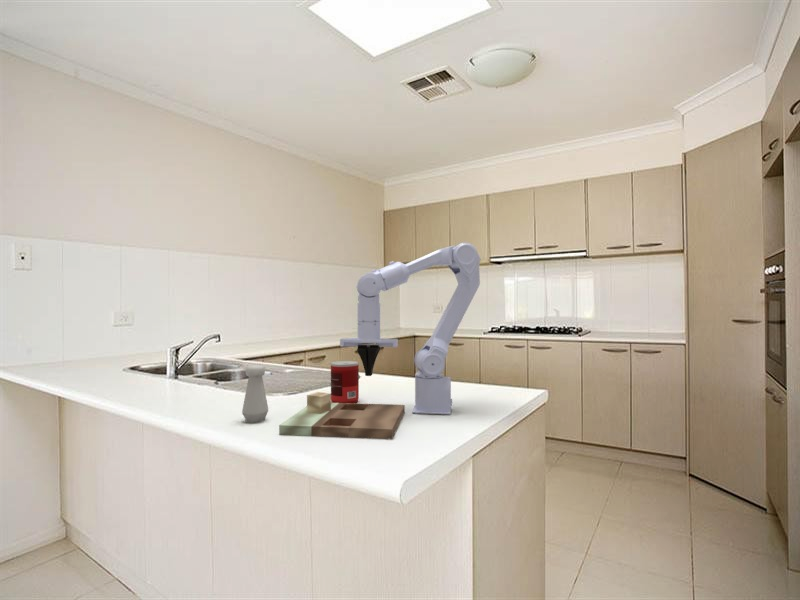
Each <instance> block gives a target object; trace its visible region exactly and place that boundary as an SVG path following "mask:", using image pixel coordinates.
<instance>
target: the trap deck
mask: <svg viewBox="0 0 800 600" xmlns="http://www.w3.org/2000/svg"><path fill="white" fill-rule="evenodd" d="M405 406H406V405H405V404H391V403H390V404H385V403H358V402H357V403H332V402H331V410H330V411H327V412H325V413H322V414H318V413H310V412H307V405H306V406H305V407H303V408H301V409H300V410H299V411H298V412H296V413H295V414H294V415H292V416H290V417H289V418H288V419H286V420H285V421H283V422H281V424H279V425H278V430H279V431H278V434H279V436H302V437H303V436H304V437H305V436H306V437H325V438H326V437H330V438H349V439H351V438H353V439H378V440H379V439H380V440H381V439H383V440H393V438H394V436H395V434H396V432H397V429H398V427H399V425H400V424H401V421H402V419H403V417H404V415H405V413H406V412H405V410H406V409H405V408H406V407H405Z"/></svg>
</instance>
